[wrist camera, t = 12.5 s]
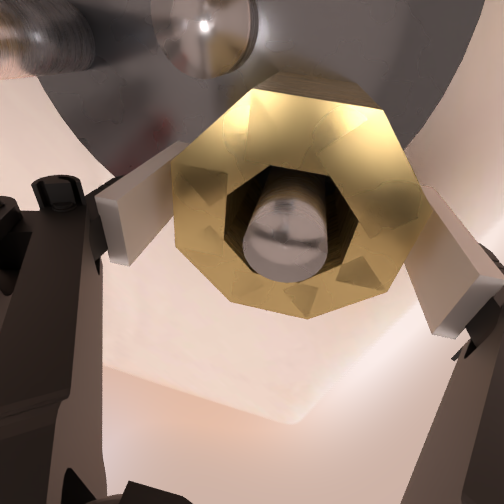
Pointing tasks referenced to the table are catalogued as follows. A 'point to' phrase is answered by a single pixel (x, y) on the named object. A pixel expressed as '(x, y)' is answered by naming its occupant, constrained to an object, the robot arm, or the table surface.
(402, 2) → the carrier
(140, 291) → the table surface
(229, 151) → the gear
